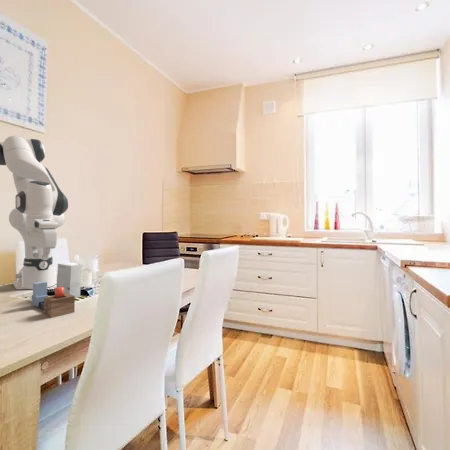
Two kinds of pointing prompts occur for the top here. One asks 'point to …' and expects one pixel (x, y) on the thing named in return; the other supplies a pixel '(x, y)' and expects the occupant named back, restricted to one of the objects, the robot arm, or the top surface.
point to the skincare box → (69, 278)
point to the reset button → (59, 291)
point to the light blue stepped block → (39, 292)
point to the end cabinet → (59, 305)
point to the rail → (41, 305)
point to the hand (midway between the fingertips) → (40, 258)
